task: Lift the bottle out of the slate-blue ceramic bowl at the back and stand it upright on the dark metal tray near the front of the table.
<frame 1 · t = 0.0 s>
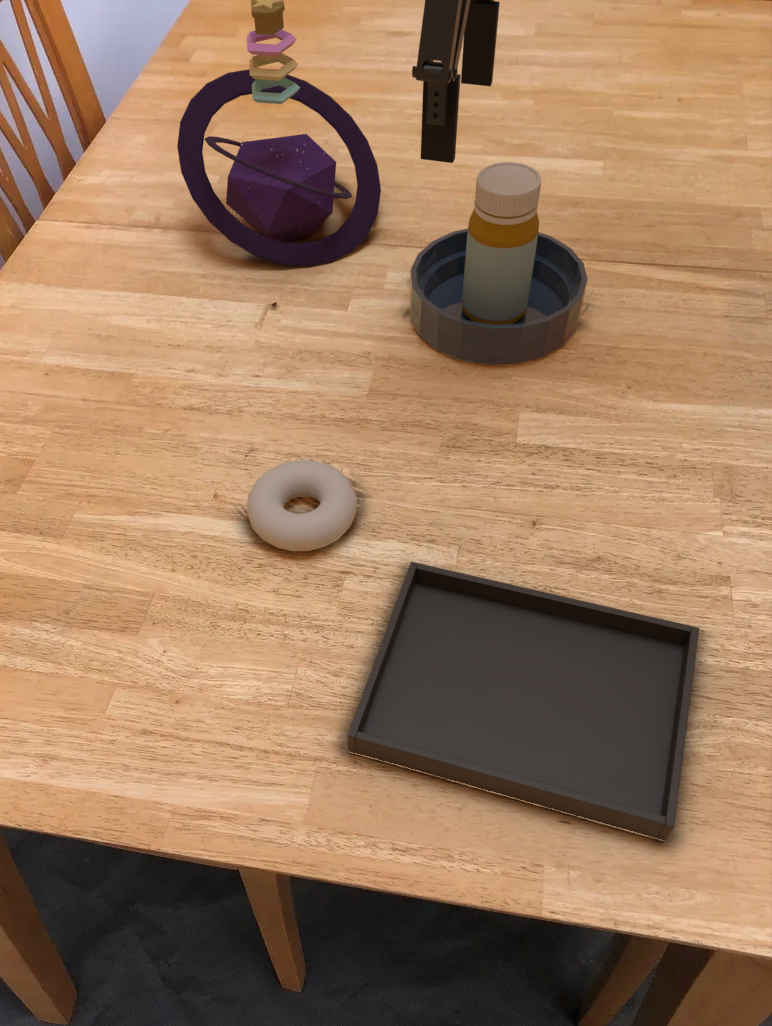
hand: (458, 119, 79), 24 cm above the table, tool pointing down, fingers open, 13 cm apart
ringed planet model: (286, 230, 113), on the table
bowl: (493, 314, 101), on the table
tray: (523, 698, 72), on the table
donut: (303, 518, 85), on the table
bottle: (493, 312, 101), resting on bowl
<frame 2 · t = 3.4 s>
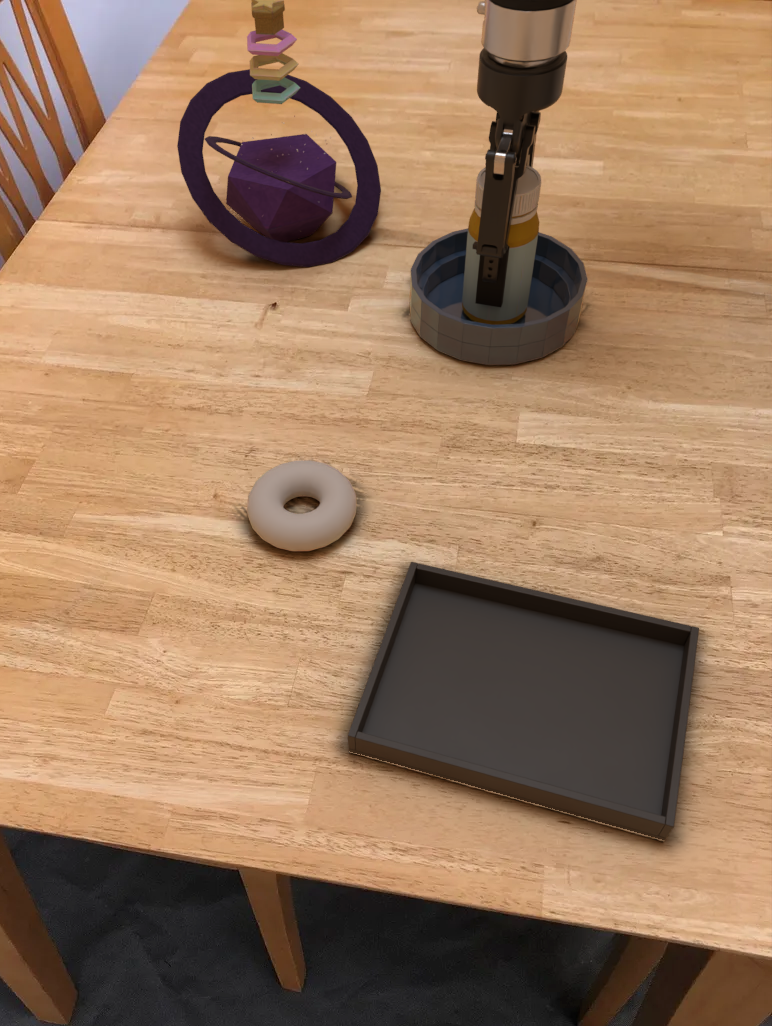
hand: (497, 281, 98), 4 cm above the table, tool pointing down, fingers closed on bottle, 7 cm apart
bottle: (493, 312, 101), resting on bowl, touching gripper
everything else where it was.
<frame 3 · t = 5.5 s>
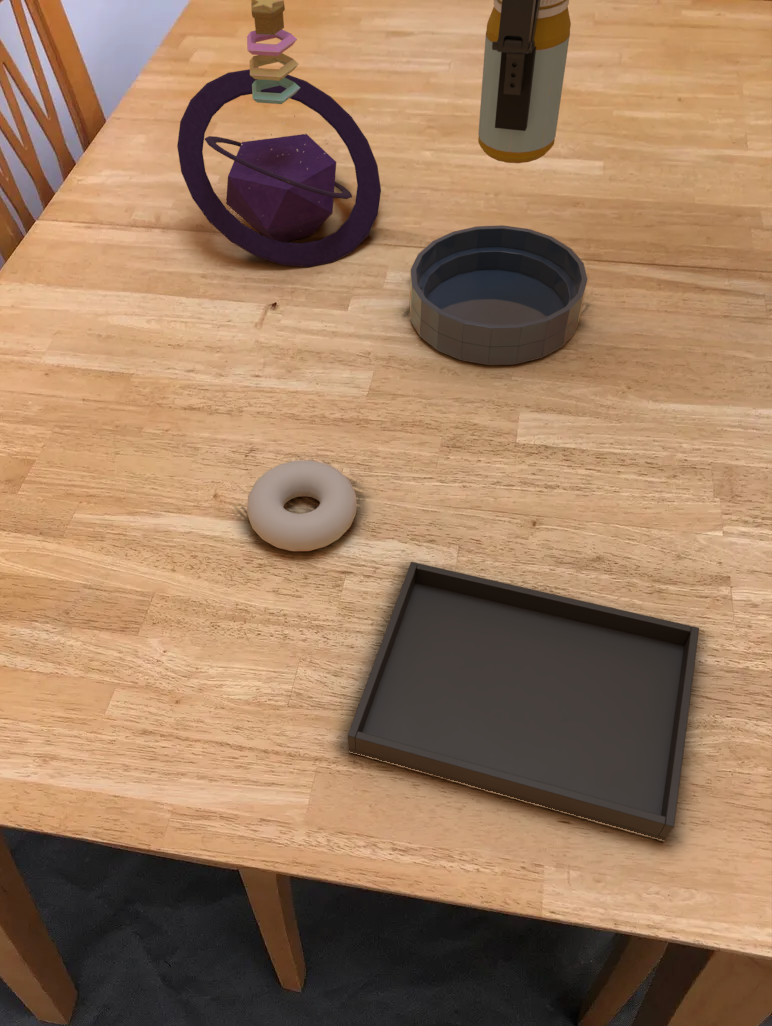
hand: (520, 106, 83), 22 cm above the table, tool pointing down, fingers closed on bottle, 7 cm apart
bottle: (515, 148, 86), point 18 cm above the table, touching gripper
everything else where it was.
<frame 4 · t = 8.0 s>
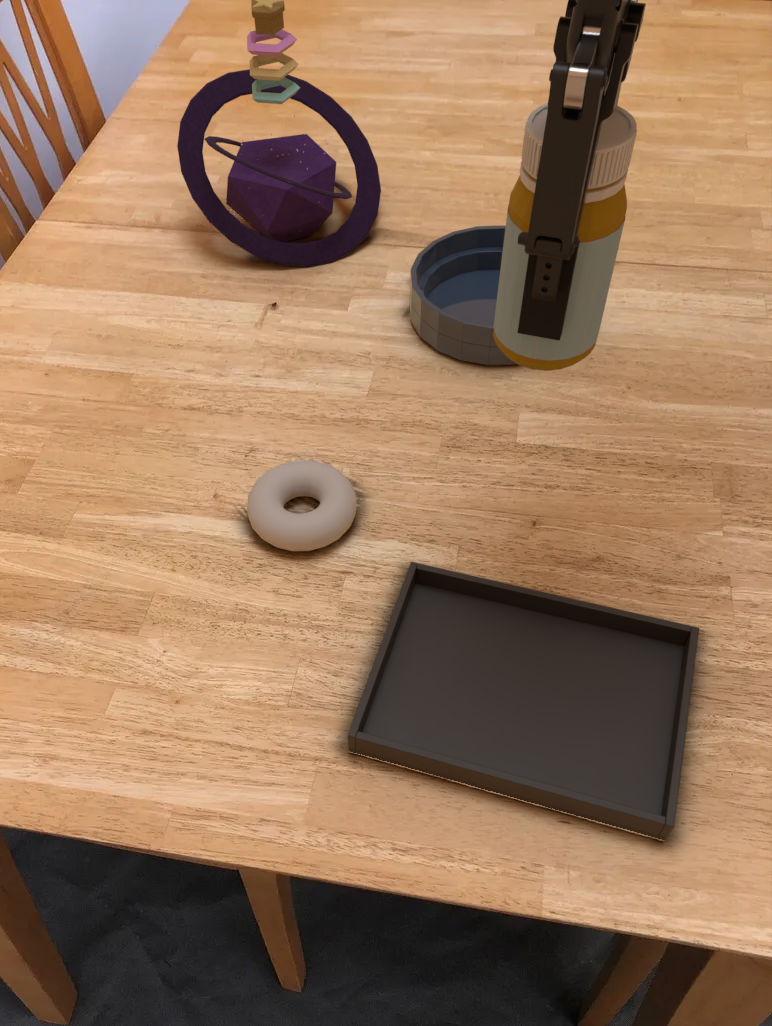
hand: (552, 297, 61), 25 cm above the table, tool pointing down, fingers closed on bottle, 7 cm apart
bottle: (542, 344, 64), point 21 cm above the table, touching gripper
everything else where it was.
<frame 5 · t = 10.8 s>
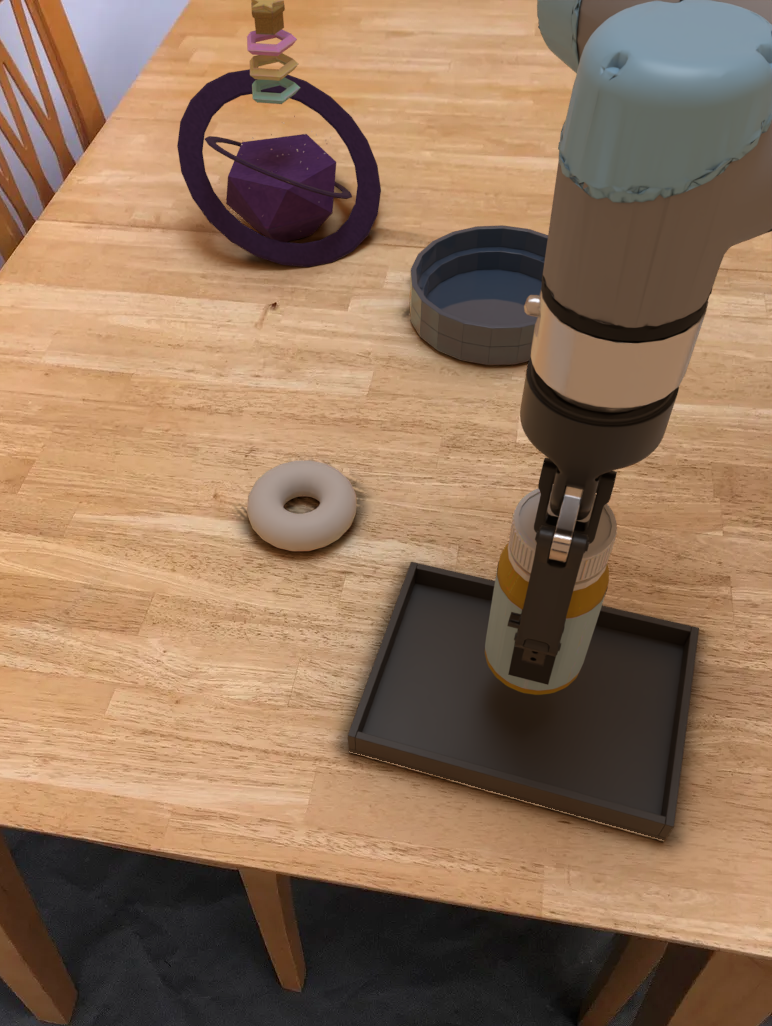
hand: (540, 629, 64), 9 cm above the table, tool pointing down, fingers closed on bottle, 7 cm apart
bottle: (531, 659, 68), point 6 cm above the table, touching gripper
everything else where it was.
when the fingers open (4 cm above the table, at t = 12.6 s): bottle stays where it is, resting on tray.
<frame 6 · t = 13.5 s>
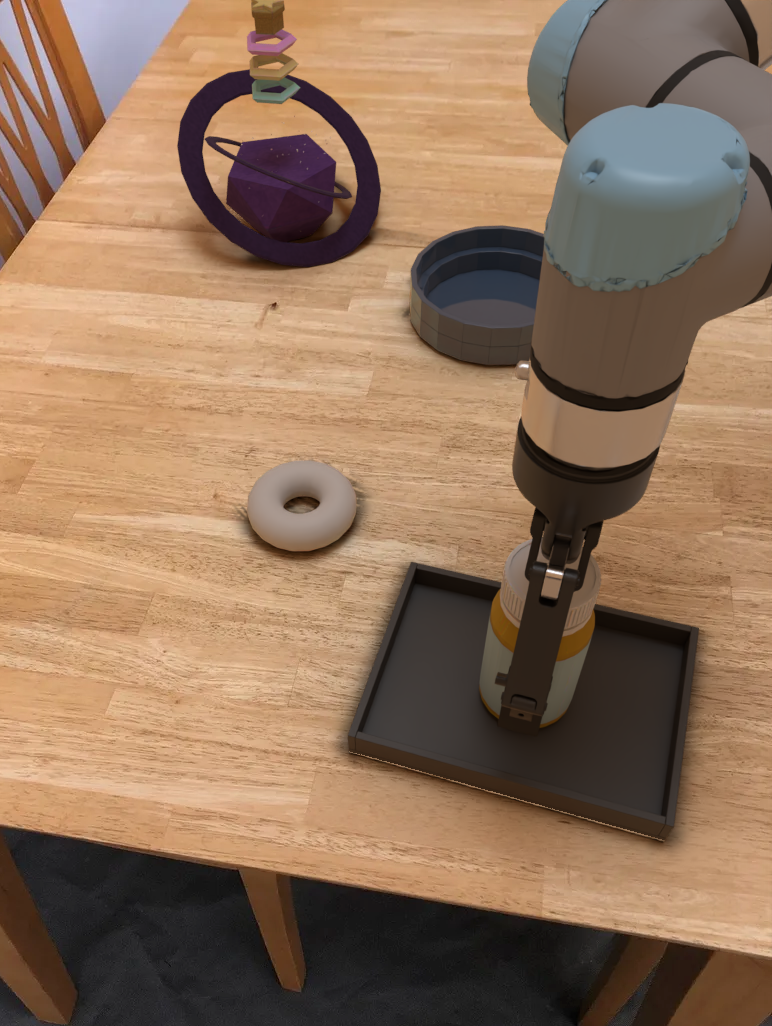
hand: (537, 647, 66), 7 cm above the table, tool pointing down, fingers open, 13 cm apart
bottle: (523, 694, 71), point 1 cm above the table, touching tray
everything else where it was.
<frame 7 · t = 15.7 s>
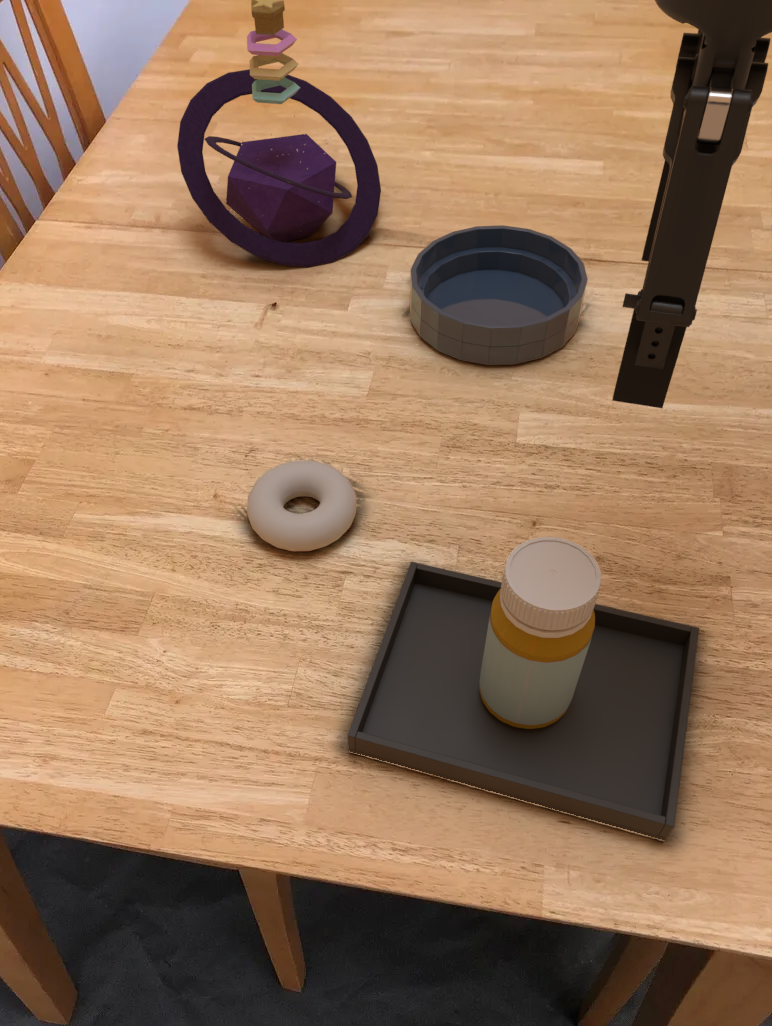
hand: (651, 325, 55), 28 cm above the table, tool pointing down, fingers open, 13 cm apart
nothing on the table moved.
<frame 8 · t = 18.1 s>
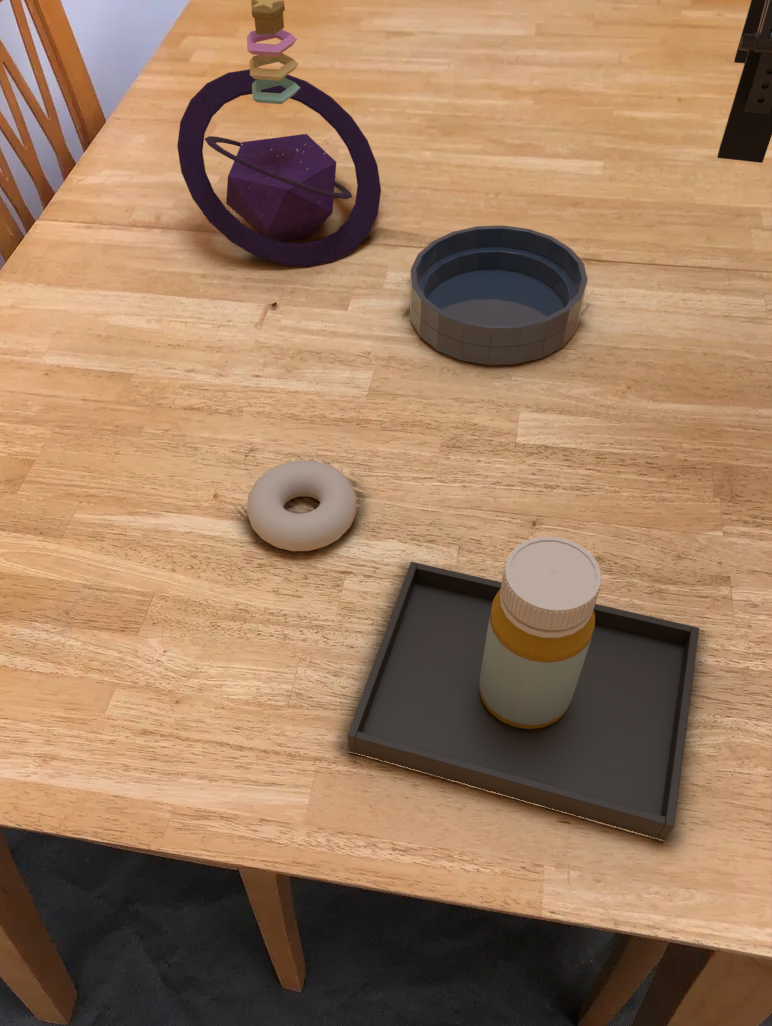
hand: (747, 107, 62), 32 cm above the table, tool pointing down, fingers open, 13 cm apart
nothing on the table moved.
at the end: bottle inside the target area in the tray (0.1 cm from its centre), point 0.6 cm above the tray's base; bottle tilted 0° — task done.
